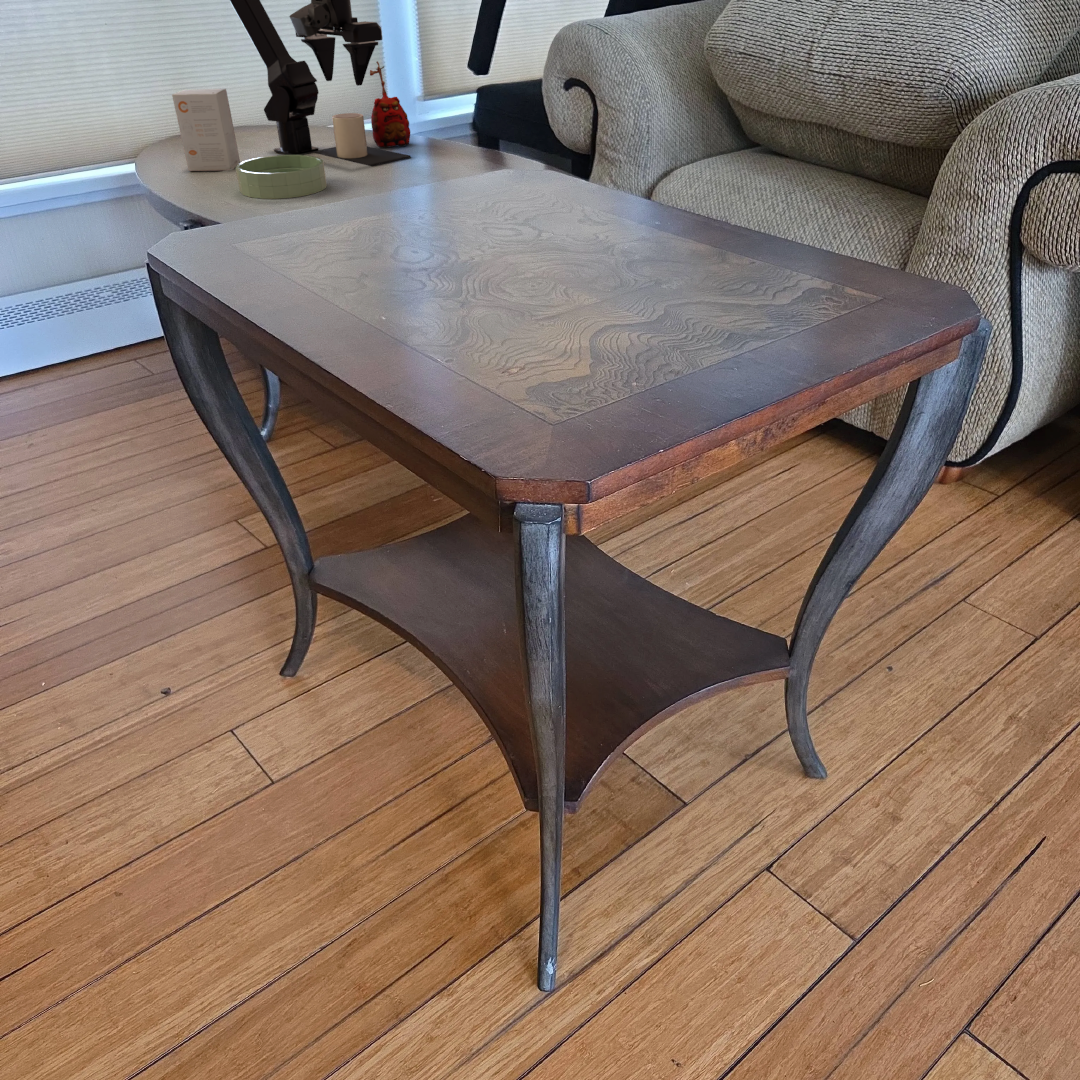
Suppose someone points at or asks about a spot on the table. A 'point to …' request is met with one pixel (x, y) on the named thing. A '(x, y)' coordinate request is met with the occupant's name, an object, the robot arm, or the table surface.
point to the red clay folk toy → (389, 119)
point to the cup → (350, 135)
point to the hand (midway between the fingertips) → (343, 83)
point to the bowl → (281, 176)
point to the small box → (206, 129)
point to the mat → (371, 159)
